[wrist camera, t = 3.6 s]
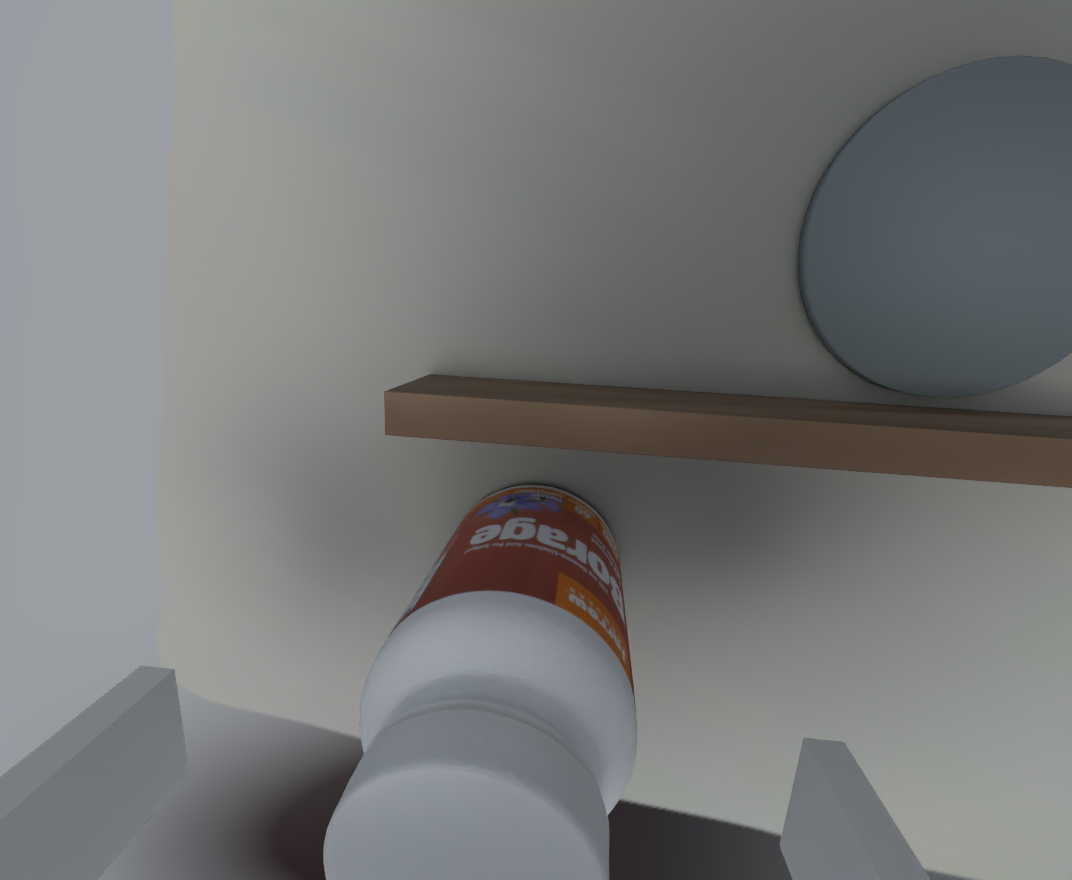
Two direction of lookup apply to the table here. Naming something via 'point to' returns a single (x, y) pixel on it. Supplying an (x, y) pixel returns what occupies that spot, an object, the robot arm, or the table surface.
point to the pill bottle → (497, 707)
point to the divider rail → (738, 428)
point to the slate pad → (949, 233)
